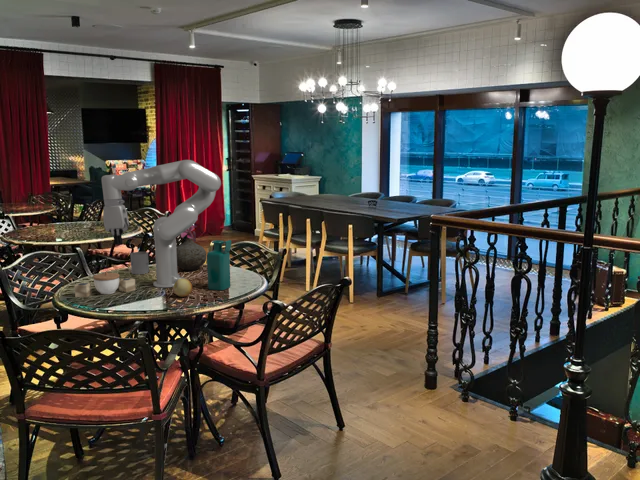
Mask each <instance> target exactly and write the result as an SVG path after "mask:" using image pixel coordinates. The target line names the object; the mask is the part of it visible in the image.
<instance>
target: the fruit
mask: <svg viewBox="0 0 640 480" xmlns="http://www.w3.org/2000/svg"><path fill="white" fill-rule="evenodd" d="M172 291H173V293H174V294H175V295H176V296H178V297H180V298H181V297H182V298H184V297H188V296H190V295H191V294H192V292H193V284H192V282H191V281H190V280H188V279H187V278H185V279H178V280H177V281H176V282H175V284H174V286H173V287H172Z"/></svg>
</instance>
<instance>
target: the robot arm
mask: <svg viewBox="0 0 640 480" xmlns="http://www.w3.org/2000/svg"><path fill="white" fill-rule="evenodd" d="M186 179H187V180H188V181H189V182H192V183H193V184H195V185H196V186H198V189H197V191H196V192H195V193H194V194H193V195H192V196H191V197H188V198H187V199H186V200H185V201H183V202H182V203H180V204H179V205H177V206H176V207H175V209H174V210H173V213H171V214H170V215H168V216H160V217H158V218H157V219H156V220H155V221H154V224H153V230H152V231H153V238H154V253H155V254H154V255H155V270H156V271H155V272H156V280H155V281H153V283H152V284H153V285H152V286H153V287H156V288H173V286H174V284H175V282H176V281H177V280H178V279H186V278H185V277H183V276H180V274H179V273H178V266H177V249H176V248H177V239H176V238H177V237H179V236H181V233H183V232H184V231H185V230H187V229H188V228H190V227H191V226H192V225H195V223H196V222H197V221H198V220H197V218H199V217H198V216H199V215H200V214H201V213H203V212H204V211H205V210H206V209H207V208H209V207H210V206H211V204H212V203H213V202H214V200H215V197H216V194H217V191H218V190H219V189H220V188H221V186H222V181H221V178H220V177H219V175H217V174H216V173H215V172H213V171H211V170H209V169H207V168H205V167H204V166H202V165H200V164H199V163H198V162H196V161H194V160H192V159H183V160H178V161H174V162H169V163H164V164H159V165H154V166H151V167H147V168H141V169H138V170H132V171H128V172H124V173H122V174H119V175H118V174H106V175H102V176H101V187H102V195H103V203H104V206H103V208H102V209H103V211H102V213H103V214H102V215H103V216H102V217H103V226H104V229H105V232H109V233H111V236H113V242H114V245H121V244H122V243H123V238H122V235H123V233H124V232H126V231H128V230H129V228H128V227H130V223H129V222H130V221H129V217H128V211H127V209H126V206H125V205H124V203H125V200H124V199H123V198H122V191H128V192H129V191H134V190H135V189H137V188H139V187H144V186H149V185H166V184H170V183H173V182H178V181H182V180H186Z"/></svg>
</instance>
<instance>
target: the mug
mask: <svg viewBox="0 0 640 480" xmlns="http://www.w3.org/2000/svg"><path fill="white" fill-rule="evenodd" d="M149 264H150V263H149V252H148V251H134V252H131V253H130V268H131V269H130V270H131V273H130V274H132V275H145V273H146V274H149V273H148V272H150V267H149V266H150V265H149Z"/></svg>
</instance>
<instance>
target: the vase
mask: <svg viewBox="0 0 640 480" xmlns="http://www.w3.org/2000/svg"><path fill="white" fill-rule="evenodd" d="M198 218H199V217H198ZM198 218H197V221H198V220H199V219H198ZM195 228H198V226H197V225H195V224H193V225H192V226H191V227H190V228H188V229H187V230H185V231H184V232H183V233H181V234H180V237H181V238H182V239H184V238H185V239H184V242H183V243H181V244H179V245H178V246H176V249H177V268H180V269H182V270H183V271H184V272H194V271H197V270H198V269H199V268H201V267H202V266H203V265H205V263H206V262H207V251H206V249H205V248H204V247H203V246H202V245H199V244H198V243H195V242H196V240H197V235H196V231H194V229H195Z"/></svg>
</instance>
